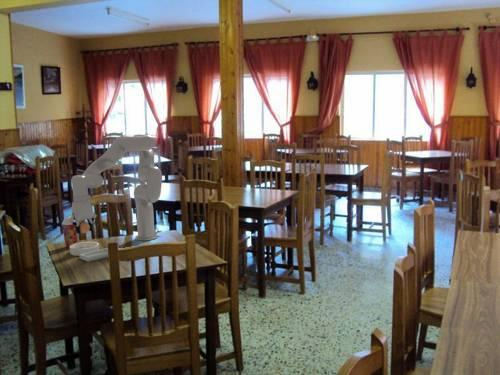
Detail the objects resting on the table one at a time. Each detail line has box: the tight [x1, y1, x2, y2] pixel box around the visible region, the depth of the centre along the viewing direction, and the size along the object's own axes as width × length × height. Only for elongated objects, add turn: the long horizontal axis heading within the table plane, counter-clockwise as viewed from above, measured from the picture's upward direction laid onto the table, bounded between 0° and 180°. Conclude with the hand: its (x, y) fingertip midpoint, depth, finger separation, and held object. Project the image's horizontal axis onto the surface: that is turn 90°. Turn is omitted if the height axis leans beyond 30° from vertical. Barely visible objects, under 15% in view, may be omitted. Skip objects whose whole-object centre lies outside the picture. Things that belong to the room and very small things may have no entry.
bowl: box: [69, 241, 100, 257], centre depth 281 cm, size 15×15×4 cm
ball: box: [79, 221, 90, 234], centre depth 279 cm, size 6×6×6 cm
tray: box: [79, 247, 109, 263], centre depth 270 cm, size 16×9×2 cm, turn 134°
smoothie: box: [61, 210, 79, 249], centre depth 290 cm, size 8×8×20 cm
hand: (84, 231), depth 280 cm, fingers closed on ball, 5 cm apart
